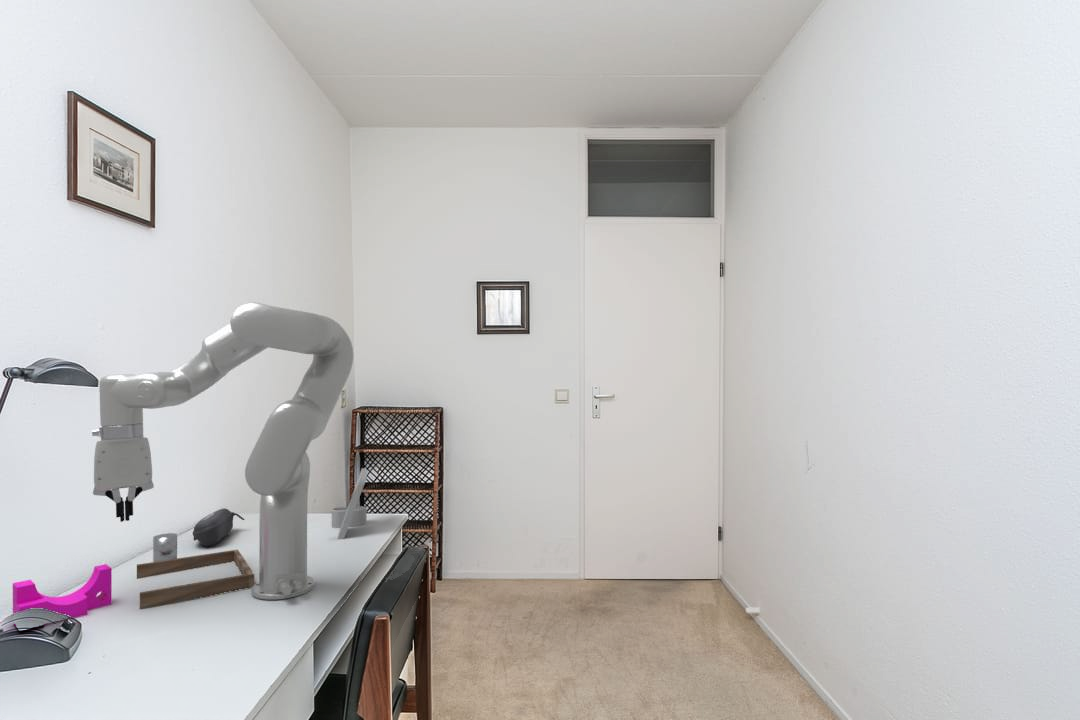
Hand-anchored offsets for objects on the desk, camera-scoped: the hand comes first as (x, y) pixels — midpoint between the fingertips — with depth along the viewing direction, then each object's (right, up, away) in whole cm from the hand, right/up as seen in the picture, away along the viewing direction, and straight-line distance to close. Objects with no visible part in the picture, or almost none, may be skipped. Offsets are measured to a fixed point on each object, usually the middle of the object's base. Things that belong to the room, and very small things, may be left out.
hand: (124, 519), depth 133 cm
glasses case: (-1, -16, +40) cm, 43 cm away
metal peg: (-3, -16, +20) cm, 26 cm away
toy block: (-5, -16, -10) cm, 20 cm away
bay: (+11, -16, +7) cm, 20 cm away
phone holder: (+33, -16, +46) cm, 59 cm away
